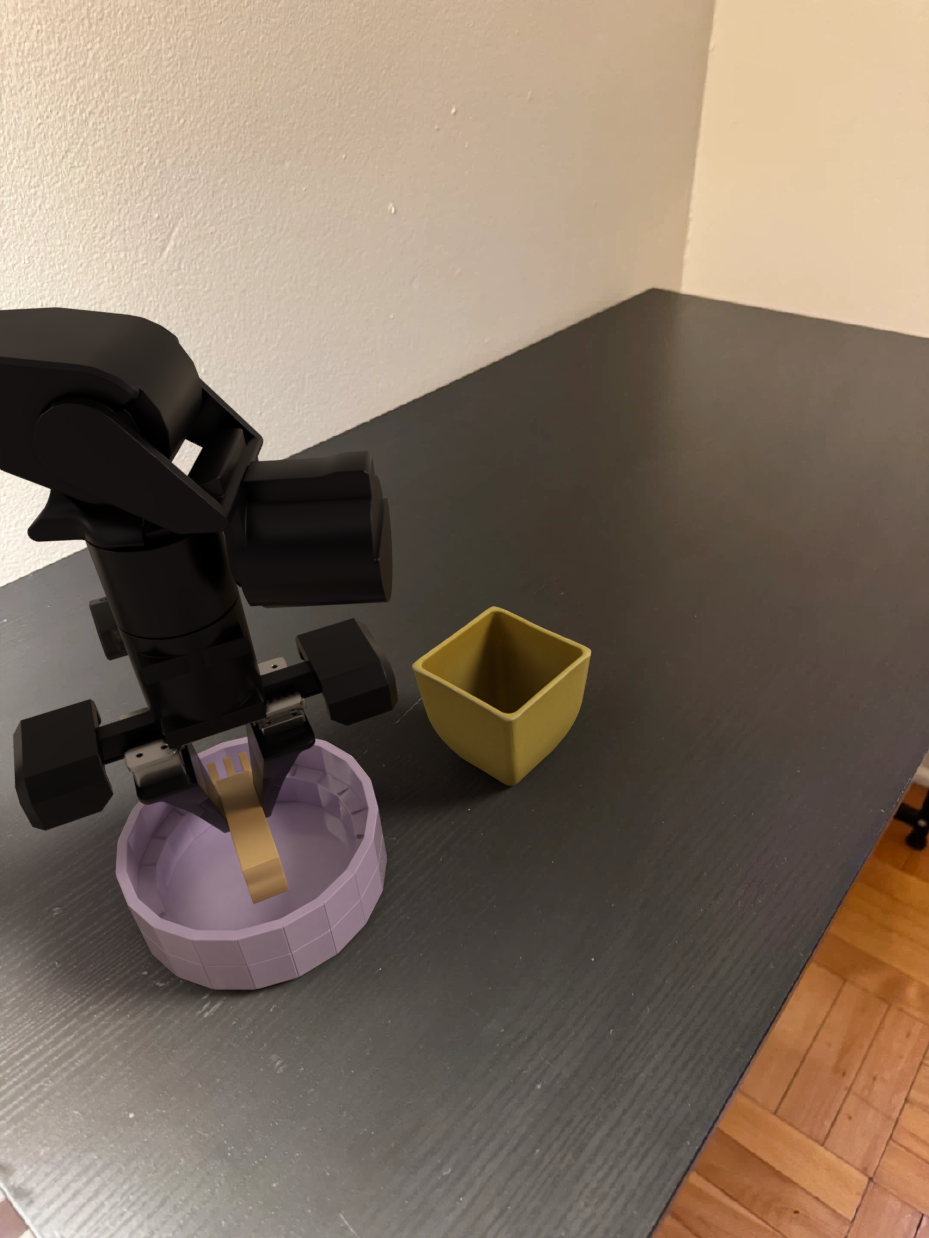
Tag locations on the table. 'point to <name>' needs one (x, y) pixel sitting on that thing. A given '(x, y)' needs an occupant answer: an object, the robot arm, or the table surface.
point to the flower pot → (503, 692)
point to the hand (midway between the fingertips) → (246, 819)
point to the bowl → (217, 891)
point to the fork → (249, 830)
